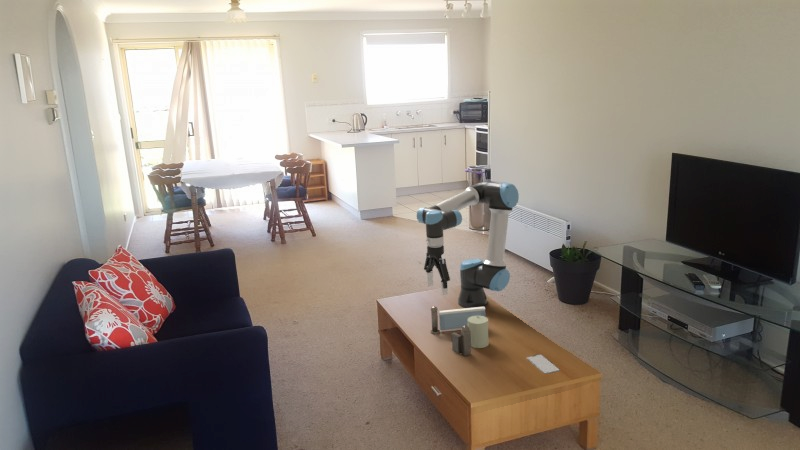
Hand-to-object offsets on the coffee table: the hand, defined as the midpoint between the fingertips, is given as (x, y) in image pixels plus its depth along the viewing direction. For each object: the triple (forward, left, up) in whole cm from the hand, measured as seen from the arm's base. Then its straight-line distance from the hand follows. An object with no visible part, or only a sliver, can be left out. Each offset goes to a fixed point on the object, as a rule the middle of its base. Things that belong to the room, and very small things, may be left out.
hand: (437, 290), depth 264 cm
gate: (-12, +1, -21) cm, 24 cm away
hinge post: (0, -3, -22) cm, 22 cm away
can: (-10, +18, -22) cm, 30 cm away
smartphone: (-21, +48, -23) cm, 57 cm away
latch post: (+1, +21, -22) cm, 30 cm away
